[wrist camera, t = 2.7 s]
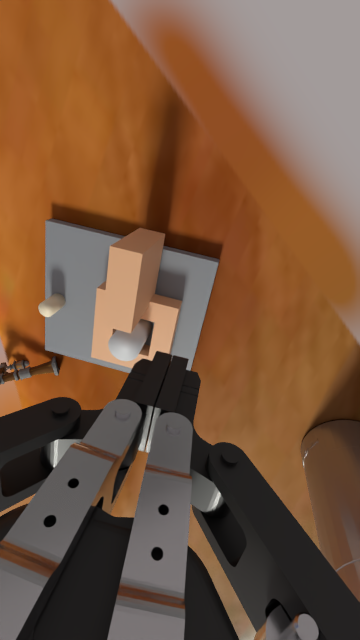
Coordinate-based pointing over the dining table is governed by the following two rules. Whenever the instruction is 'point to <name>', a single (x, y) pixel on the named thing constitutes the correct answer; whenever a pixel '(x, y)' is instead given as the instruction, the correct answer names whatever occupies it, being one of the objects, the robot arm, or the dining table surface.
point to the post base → (91, 271)
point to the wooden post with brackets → (26, 370)
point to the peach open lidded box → (134, 297)
